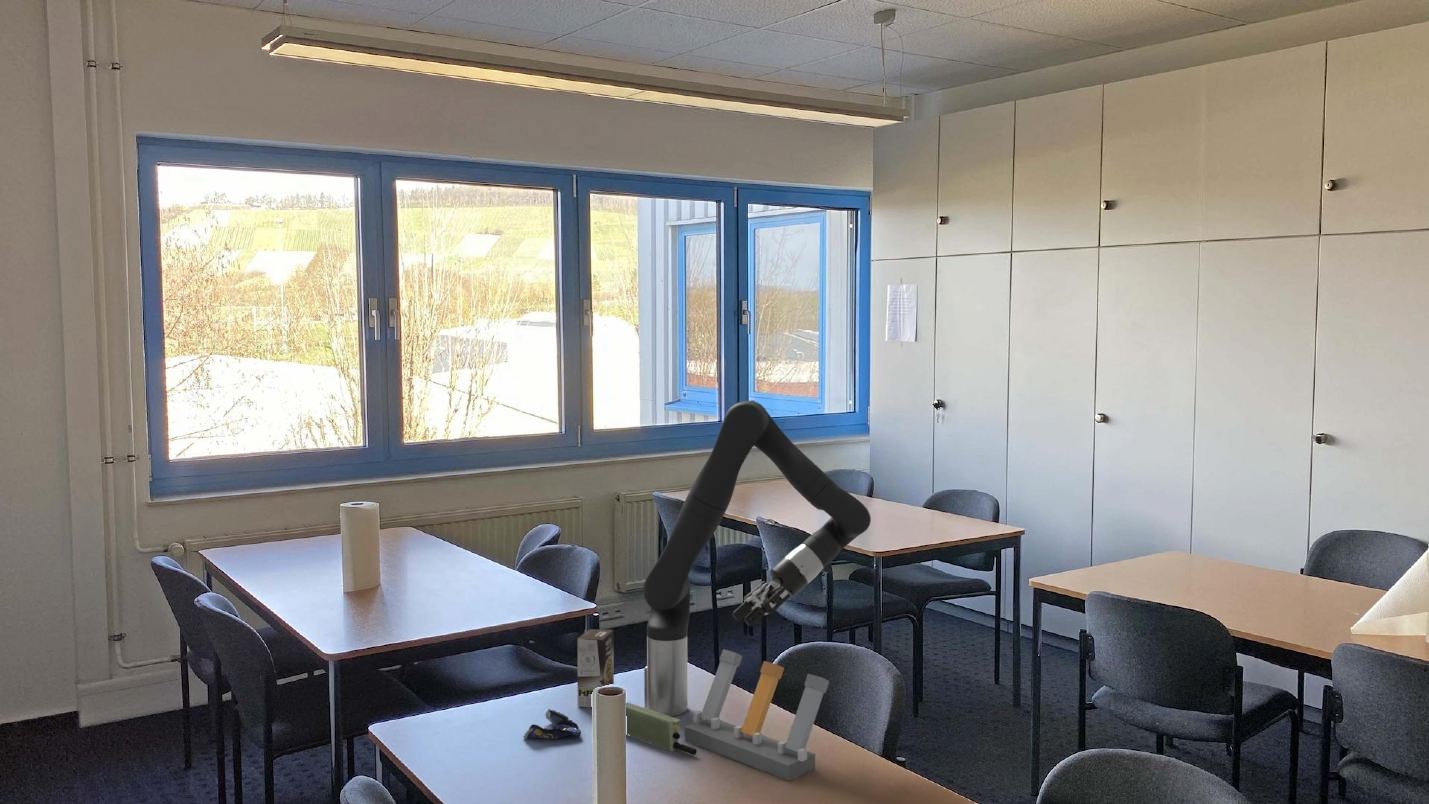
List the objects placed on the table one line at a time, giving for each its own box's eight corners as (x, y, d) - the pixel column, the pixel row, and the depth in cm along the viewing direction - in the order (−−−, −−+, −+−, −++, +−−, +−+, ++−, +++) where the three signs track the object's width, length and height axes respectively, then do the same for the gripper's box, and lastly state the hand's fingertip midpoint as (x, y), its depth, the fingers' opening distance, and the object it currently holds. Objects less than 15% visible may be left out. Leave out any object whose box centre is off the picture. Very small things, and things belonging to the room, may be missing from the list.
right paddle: (783, 746, 208) (807, 673, 212) (789, 749, 209) (814, 676, 214) (798, 752, 205) (823, 678, 210) (804, 755, 206) (829, 681, 211)
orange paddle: (739, 731, 216) (763, 660, 221) (745, 733, 218) (770, 664, 222) (753, 736, 214) (778, 665, 218) (759, 739, 215) (784, 668, 220)
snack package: (535, 726, 233) (517, 744, 221) (540, 698, 232) (522, 714, 221) (587, 738, 231) (571, 758, 219) (592, 710, 230) (576, 728, 219)
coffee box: (603, 709, 242) (602, 639, 241) (576, 707, 244) (576, 638, 243) (615, 696, 251) (614, 629, 250) (589, 694, 253) (588, 627, 252)
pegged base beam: (682, 739, 223) (682, 716, 223) (709, 730, 229) (709, 707, 229) (790, 781, 202) (790, 756, 202) (817, 769, 208) (817, 744, 207)
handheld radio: (618, 726, 232) (701, 755, 215) (606, 730, 230) (689, 761, 213) (617, 696, 232) (700, 723, 215) (605, 700, 229) (688, 728, 212)
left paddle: (698, 716, 225) (723, 649, 229) (704, 719, 226) (729, 652, 231) (711, 721, 222) (736, 652, 227) (718, 724, 223) (742, 656, 228)
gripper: (775, 554, 233) (720, 603, 228) (797, 558, 219) (739, 610, 215) (795, 580, 233) (741, 629, 229) (819, 586, 220) (762, 638, 216)
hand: (740, 620), depth 222 cm, fingers open, 8 cm apart
